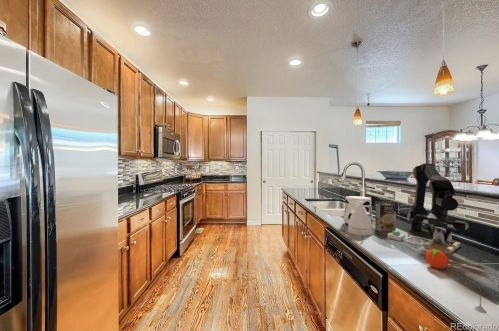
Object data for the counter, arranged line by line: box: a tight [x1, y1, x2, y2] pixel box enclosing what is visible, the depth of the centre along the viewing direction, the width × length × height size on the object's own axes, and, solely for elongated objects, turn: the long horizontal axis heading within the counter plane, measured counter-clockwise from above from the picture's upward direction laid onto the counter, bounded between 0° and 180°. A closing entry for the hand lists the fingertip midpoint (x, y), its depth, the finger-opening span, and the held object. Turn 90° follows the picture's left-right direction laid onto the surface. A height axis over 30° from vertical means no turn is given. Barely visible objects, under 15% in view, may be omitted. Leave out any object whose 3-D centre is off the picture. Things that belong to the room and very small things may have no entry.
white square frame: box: [387, 232, 406, 242], centre depth 120 cm, size 6×6×3 cm
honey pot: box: [347, 201, 373, 237], centre depth 132 cm, size 13×13×18 cm
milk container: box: [343, 195, 374, 225], centre depth 148 cm, size 17×17×18 cm
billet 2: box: [446, 232, 453, 245], centre depth 110 cm, size 5×5×7 cm
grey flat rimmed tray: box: [401, 235, 432, 247], centre depth 116 cm, size 13×9×1 cm
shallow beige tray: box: [423, 239, 461, 255], centre depth 107 cm, size 17×9×3 cm, turn 126°
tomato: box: [425, 249, 449, 269], centre depth 87 cm, size 8×7×7 cm
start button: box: [393, 230, 401, 236], centre depth 120 cm, size 3×3×2 cm
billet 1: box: [432, 226, 446, 245], centre depth 105 cm, size 5×5×7 cm
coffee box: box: [374, 202, 397, 233], centre depth 136 cm, size 9×6×16 cm
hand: (439, 240), depth 105 cm, fingers closed on billet 1, 5 cm apart
